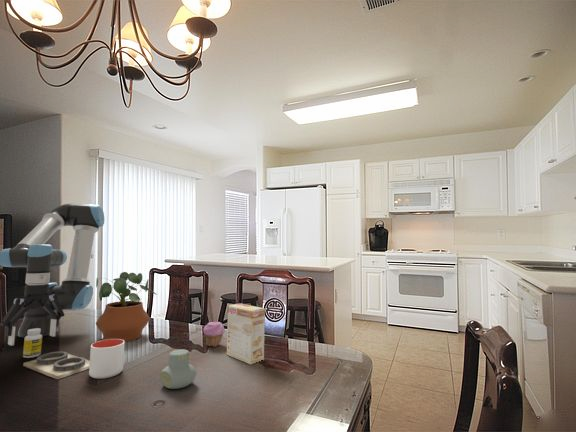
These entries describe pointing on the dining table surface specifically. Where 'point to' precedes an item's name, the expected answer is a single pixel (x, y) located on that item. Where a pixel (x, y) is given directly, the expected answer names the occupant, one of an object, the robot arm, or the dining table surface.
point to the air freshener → (178, 370)
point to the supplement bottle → (32, 343)
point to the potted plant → (123, 309)
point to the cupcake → (213, 333)
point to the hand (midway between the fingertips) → (32, 340)
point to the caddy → (58, 364)
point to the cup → (106, 358)
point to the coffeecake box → (246, 332)
